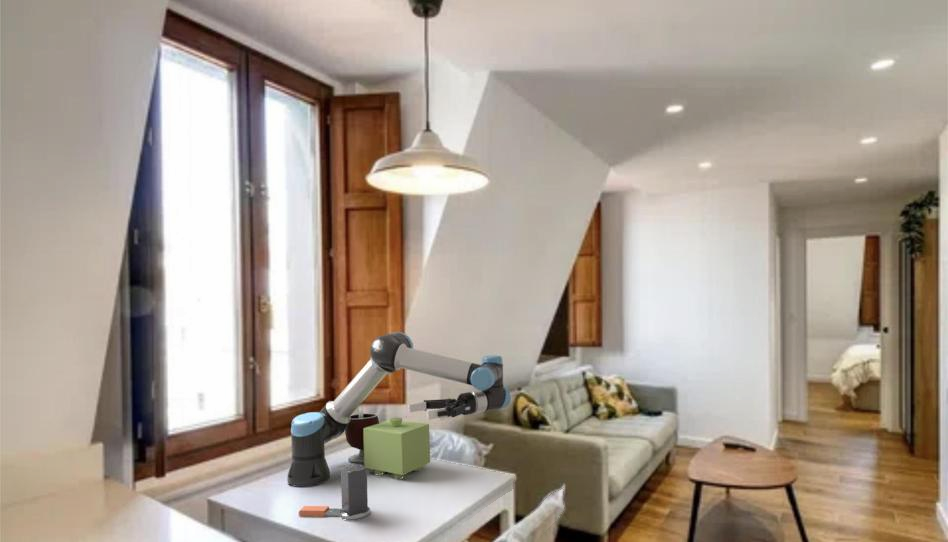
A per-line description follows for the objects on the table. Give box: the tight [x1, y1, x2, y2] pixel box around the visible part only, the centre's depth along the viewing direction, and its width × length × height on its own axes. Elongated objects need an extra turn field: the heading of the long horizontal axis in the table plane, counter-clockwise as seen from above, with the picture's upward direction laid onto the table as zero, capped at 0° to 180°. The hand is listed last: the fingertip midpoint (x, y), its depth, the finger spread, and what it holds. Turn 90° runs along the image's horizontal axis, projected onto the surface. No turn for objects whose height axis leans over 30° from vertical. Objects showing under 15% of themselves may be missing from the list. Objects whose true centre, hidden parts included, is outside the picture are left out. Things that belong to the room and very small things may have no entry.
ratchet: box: [298, 505, 371, 521], centre depth 169 cm, size 22×9×4 cm, turn 84°
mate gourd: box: [344, 405, 380, 463], centre depth 226 cm, size 16×14×20 cm
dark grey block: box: [340, 463, 369, 516], centre depth 168 cm, size 6×6×13 cm
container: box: [363, 417, 431, 479], centre depth 208 cm, size 19×16×20 cm
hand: (417, 411), depth 182 cm, fingers open, 13 cm apart
